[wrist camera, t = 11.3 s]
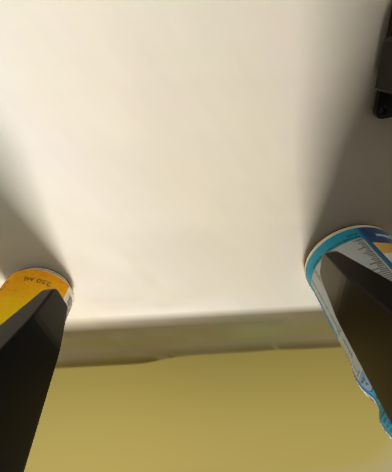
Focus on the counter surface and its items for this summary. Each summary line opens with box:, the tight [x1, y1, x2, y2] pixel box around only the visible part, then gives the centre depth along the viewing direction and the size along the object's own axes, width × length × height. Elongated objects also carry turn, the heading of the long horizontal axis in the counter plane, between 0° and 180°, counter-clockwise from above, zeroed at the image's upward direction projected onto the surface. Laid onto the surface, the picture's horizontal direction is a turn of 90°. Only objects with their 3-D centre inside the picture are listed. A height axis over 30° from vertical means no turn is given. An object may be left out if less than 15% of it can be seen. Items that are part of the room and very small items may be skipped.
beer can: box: [0, 268, 74, 325], centre depth 21 cm, size 6×6×15 cm
